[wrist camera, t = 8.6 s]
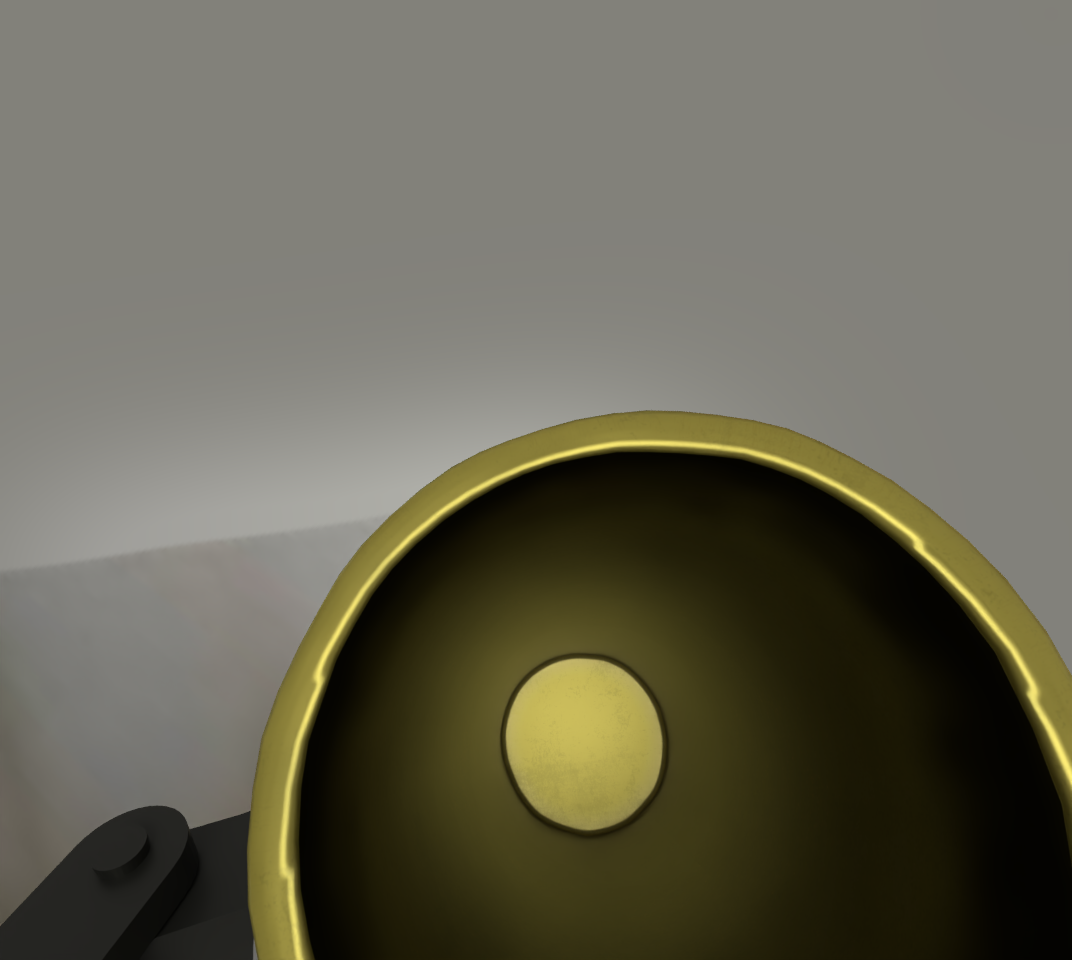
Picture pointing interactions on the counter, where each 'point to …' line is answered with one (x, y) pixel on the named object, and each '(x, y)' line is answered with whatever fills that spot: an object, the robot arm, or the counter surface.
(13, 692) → the counter surface
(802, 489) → the vase
